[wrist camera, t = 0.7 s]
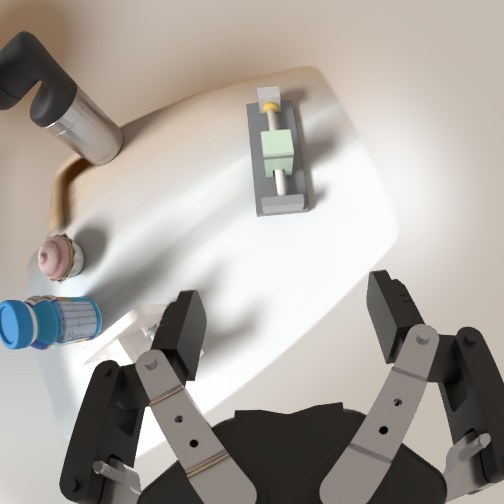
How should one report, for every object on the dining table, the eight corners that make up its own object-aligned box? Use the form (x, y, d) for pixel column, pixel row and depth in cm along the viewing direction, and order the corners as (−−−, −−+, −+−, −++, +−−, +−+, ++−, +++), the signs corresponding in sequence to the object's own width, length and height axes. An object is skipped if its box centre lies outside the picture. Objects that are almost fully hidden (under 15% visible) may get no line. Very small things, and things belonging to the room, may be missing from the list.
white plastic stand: (172, 299, 44) (138, 301, 33) (210, 353, 42) (187, 372, 31) (112, 345, 44) (72, 357, 33) (146, 395, 42) (112, 419, 31)
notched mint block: (292, 175, 43) (294, 152, 35) (265, 177, 43) (262, 154, 35) (289, 154, 44) (290, 128, 36) (263, 157, 44) (260, 131, 36)
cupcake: (71, 294, 46) (36, 293, 36) (52, 258, 48) (19, 252, 38) (98, 263, 46) (64, 256, 36) (78, 227, 48) (44, 215, 38)
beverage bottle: (111, 321, 45) (30, 332, 25) (88, 349, 44) (10, 367, 25) (86, 286, 46) (5, 280, 26) (65, 315, 46) (-13, 318, 26)
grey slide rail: (308, 211, 44) (312, 200, 38) (257, 216, 45) (254, 205, 39) (290, 104, 47) (291, 85, 41) (247, 108, 47) (243, 89, 42)
